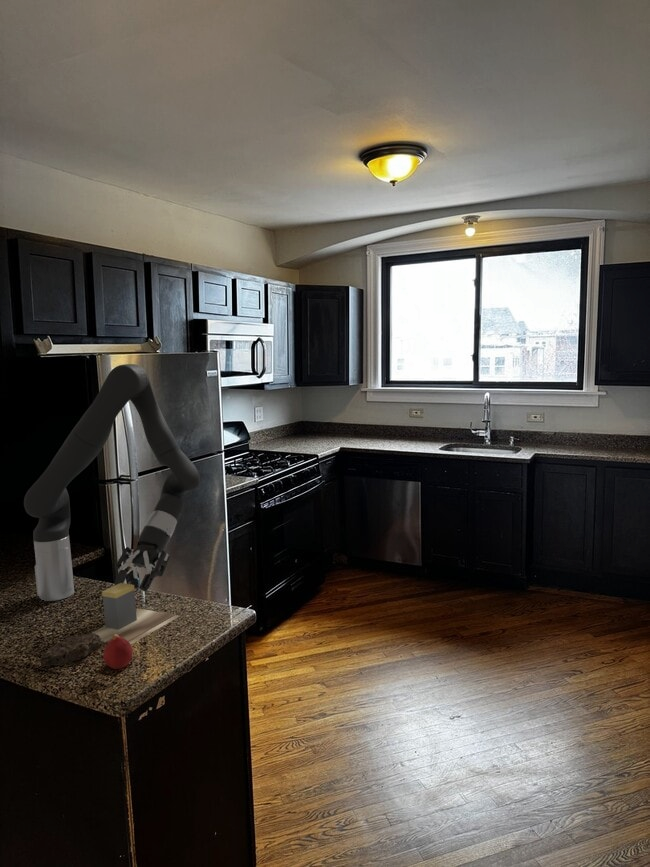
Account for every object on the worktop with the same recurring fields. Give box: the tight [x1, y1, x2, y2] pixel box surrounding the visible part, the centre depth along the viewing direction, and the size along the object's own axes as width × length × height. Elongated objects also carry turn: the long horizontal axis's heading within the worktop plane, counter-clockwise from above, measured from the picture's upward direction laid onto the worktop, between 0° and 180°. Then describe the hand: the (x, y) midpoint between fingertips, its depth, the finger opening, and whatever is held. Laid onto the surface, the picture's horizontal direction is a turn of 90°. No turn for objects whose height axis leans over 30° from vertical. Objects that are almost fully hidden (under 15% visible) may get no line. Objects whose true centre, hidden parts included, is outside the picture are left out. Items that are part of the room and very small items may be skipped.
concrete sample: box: [38, 632, 102, 667], centre depth 131 cm, size 12×10×5 cm
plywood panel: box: [91, 608, 181, 645], centre depth 144 cm, size 14×18×1 cm
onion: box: [102, 634, 133, 670], centre depth 124 cm, size 6×6×8 cm
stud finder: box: [101, 582, 137, 630], centre depth 145 cm, size 4×6×9 cm
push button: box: [126, 561, 141, 589], centre depth 176 cm, size 7×5×10 cm
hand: (129, 588), depth 148 cm, fingers open, 8 cm apart
